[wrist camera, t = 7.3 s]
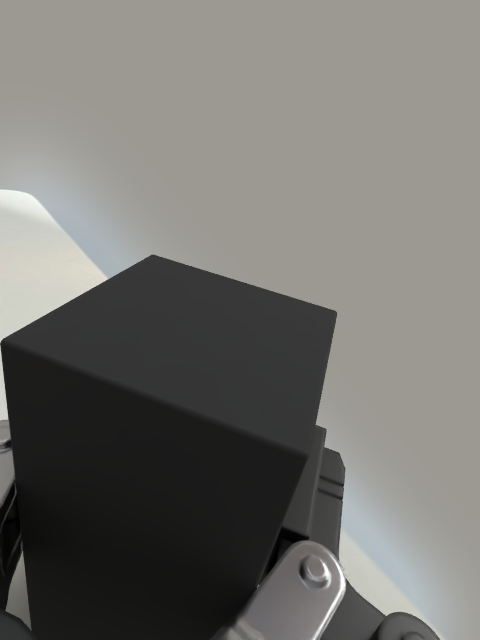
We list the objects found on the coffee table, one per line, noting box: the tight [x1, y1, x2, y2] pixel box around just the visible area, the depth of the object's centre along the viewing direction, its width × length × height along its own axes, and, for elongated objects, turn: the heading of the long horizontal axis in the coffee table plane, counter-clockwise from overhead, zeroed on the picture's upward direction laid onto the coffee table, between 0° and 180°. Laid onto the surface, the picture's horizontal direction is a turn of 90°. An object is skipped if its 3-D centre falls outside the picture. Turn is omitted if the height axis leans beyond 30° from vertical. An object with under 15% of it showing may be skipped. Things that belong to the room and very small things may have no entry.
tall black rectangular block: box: [0, 255, 337, 640], centre depth 11 cm, size 5×5×11 cm
